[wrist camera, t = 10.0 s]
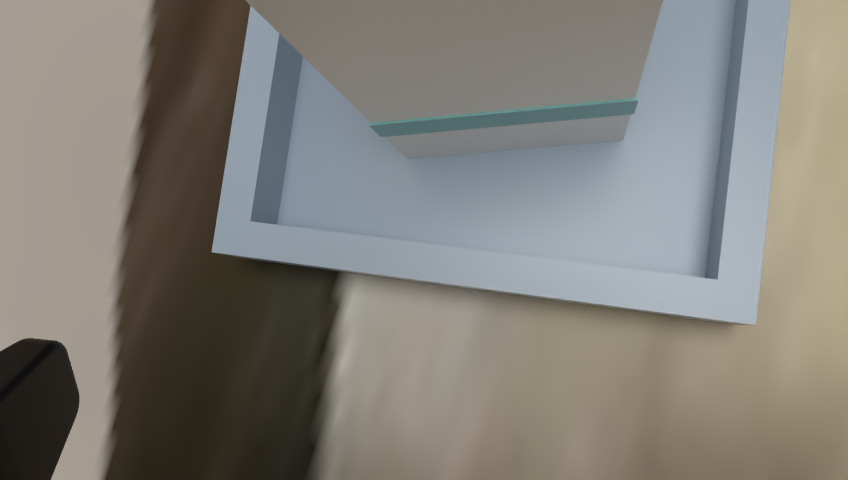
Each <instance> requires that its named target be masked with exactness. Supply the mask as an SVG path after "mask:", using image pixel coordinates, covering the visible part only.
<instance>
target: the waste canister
mask: <svg viewBox="0 0 848 480" xmlns="http://www.w3.org/2000/svg"><path fill="white" fill-rule="evenodd" d="M246 1H247V2H248V3H249V4H250V5H251V6H252V7H253V8H254V9H255V10H256V11H257V12H258V13H259V14H260V15H261V16H262V17H263V18H264V19H265V20H266V21H267V22H268V23H269V24H270V25H271V26H272V27H273V28H274V29H275V30H276V31H277V32H278V33H279V34H280V35H281V36H283V37H284V38H285V39H286V40H287V41H288V42H289V43H290V44H291V45H292V46H293V47H294V48H295V49H296V50H297V51H298V52H299V53H300V54H301V55H302V56H303V57H304V58H305V59H306V60H307V61H308V62H309V63H310V64H311V65H312V66H313V67H314V68H315V69H316V70H317V71H318V72H319V73H320V74H321V75H322V76H324V77H325V78H326V79H327V80H328V81H329V82H330V83H331V84H332V85H333V86H334V87H335V88H336V89H337V90H338V91H339V92H340V93H341V94H342V95H343V96H344V97H345V98H346V99H347V100H348V101H349V102H350V103H351V104H352V105H353V106H354V107H355V108H356V109H357V110H358V111H359V112H360V113H361V114H362V115H363V116H365V117H366V118H367V119H368V120H369V126H370V127H371V128H372V129H373V130H374V131H375V132H376V133H377V134H378V135H379V136H380V137H386V138H387V139H388V140H389V141H390V142H391V143H392V144H393V145H394V146H395V147H396V148H397V149H398V150H399V151H400V152H401V153H402V154H403V155H404V156H406V157H407V158H408V159H409V158H421V157H432V156H444V155H456V154H467V153H479V152H491V151H502V150H514V149H525V148H537V147H549V146H560V145H572V144H584V143H595V142H607V141H619V140H624V136H625V133H626V129H627V126H628V122H629V119H630V115H631V114H634V113H635V110H636V107H637V103H638V87H639V83H640V80H641V76H642V73H643V69H644V66H645V62H646V59H647V55H648V52H649V48H650V45H651V41H652V37H653V34H654V30H655V27H656V23H657V20H658V16H659V13H660V9H661V6H662V2H663V0H246Z"/></svg>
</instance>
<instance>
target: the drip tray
mask: <svg viewBox="0 0 848 480" xmlns="http://www.w3.org/2000/svg"><path fill="white" fill-rule="evenodd" d="M789 9H790V0H663V2H662V6H661V9H660V13H659V16H658V20H657V23H656V27H655V30H654V34H653V37H652V41H651V45H650V48H649V52H648V55H647V59H646V62H645V66H644V69H643V73H642V76H641V80H640V83H639V87H638V103H637V107H636V110H635V113H634V114H631V115H630V119H629V122H628V126H627V129H626V133H625V136H624V140H619V141H607V142H595V143H584V144H572V145H560V146H549V147H537V148H525V149H514V150H502V151H491V152H479V153H467V154H456V155H444V156H432V157H421V158H409V159H408V158H407V157H406V156H404V155H403V154H402V153H401V152H400V151H399V150H398V149H397V148H396V147H395V146H394V145H393V144H392V143H391V142H390V141H389V140H388V139H387V138H386V137H380V136H379V135H378V134H377V133H376V132H375V131H374V130H373V129H372V128H371V127H370V126H369V120H368V119H367V118H366V117H365V116H363V115H362V114H361V113H360V112H359V111H358V110H357V109H356V108H355V107H354V106H353V105H352V104H351V103H350V102H349V101H348V100H347V99H346V98H345V97H344V96H343V95H342V94H341V93H340V92H339V91H338V90H337V89H336V88H335V87H334V86H333V85H332V84H331V83H330V82H329V81H328V80H327V79H326V78H325V77H324V76H322V75H321V74H320V73H319V72H318V71H317V70H316V69H315V68H314V67H313V66H312V65H311V64H310V63H309V62H308V61H307V60H306V59H305V58H304V57H303V56H302V55H301V54H300V53H299V52H298V51H297V50H296V49H295V48H294V47H293V46H292V45H291V44H290V43H289V42H288V41H287V40H286V39H285V38H284V37H283V36H281V35H280V34H279V33H278V32H277V31H276V30H275V29H274V28H273V27H272V26H271V25H270V24H269V23H268V22H267V21H266V20H265V19H264V18H263V17H262V16H261V15H260V14H259V13H258V12H257V11H256V10H255V9H254V8H253V7H252V6H251V7H250V13H249V20H248V26H247V32H246V39H245V45H244V51H243V58H242V64H241V70H240V77H239V83H238V89H237V96H236V102H235V108H234V114H233V121H232V127H231V133H230V140H229V146H228V152H227V159H226V165H225V171H224V178H223V184H222V190H221V196H220V203H219V209H218V215H217V222H216V228H215V234H214V241H213V247H212V252H213V253H218V254H224V255H229V256H235V257H240V258H245V259H251V260H258V261H266V262H273V263H280V264H288V265H295V266H303V267H310V268H318V269H325V270H332V271H340V272H347V273H355V274H362V275H369V276H377V277H384V278H392V279H399V280H407V281H414V282H421V283H429V284H436V285H444V286H451V287H459V288H466V289H473V290H481V291H488V292H496V293H503V294H511V295H518V296H525V297H533V298H540V299H548V300H555V301H562V302H570V303H577V304H585V305H592V306H600V307H607V308H614V309H622V310H629V311H637V312H644V313H652V314H659V315H666V316H674V317H681V318H689V319H696V320H704V321H711V322H718V323H726V324H733V325H756V318H757V309H758V300H759V290H760V281H761V271H762V262H763V253H764V243H765V234H766V225H767V215H768V206H769V197H770V187H771V178H772V168H773V159H774V150H775V140H776V131H777V122H778V112H779V103H780V94H781V84H782V75H783V66H784V56H785V47H786V37H787V28H788V19H789Z"/></svg>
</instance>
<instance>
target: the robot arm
mask: <svg viewBox="0 0 848 480" xmlns="http://www.w3.org/2000/svg"><path fill="white" fill-rule="evenodd" d="M78 408H79V391H78V388H77V384H76V381H75V377H74V374H73V370H72V367H71V363H70V360H69V357H68V353H67V350H66V348H65V347H64V345H63V344H62V343H60V342H58V341H53V340H42V339H33V338H28V339H23V340H20V341H18V342H16V343H14V344H13V345H11V346H9V347H7V348H5V349H4V350H2V351H0V480H51V477H52V475H53V473H54V470H55V467H56V465H57V463H58V460H59V458H60V455H61V452H62V450H63V448H64V445H65V442H66V440H67V438H68V435H69V433H70V430H71V428H72V425H73V423H74V420H75V418H76V415H77V412H78Z"/></svg>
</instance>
